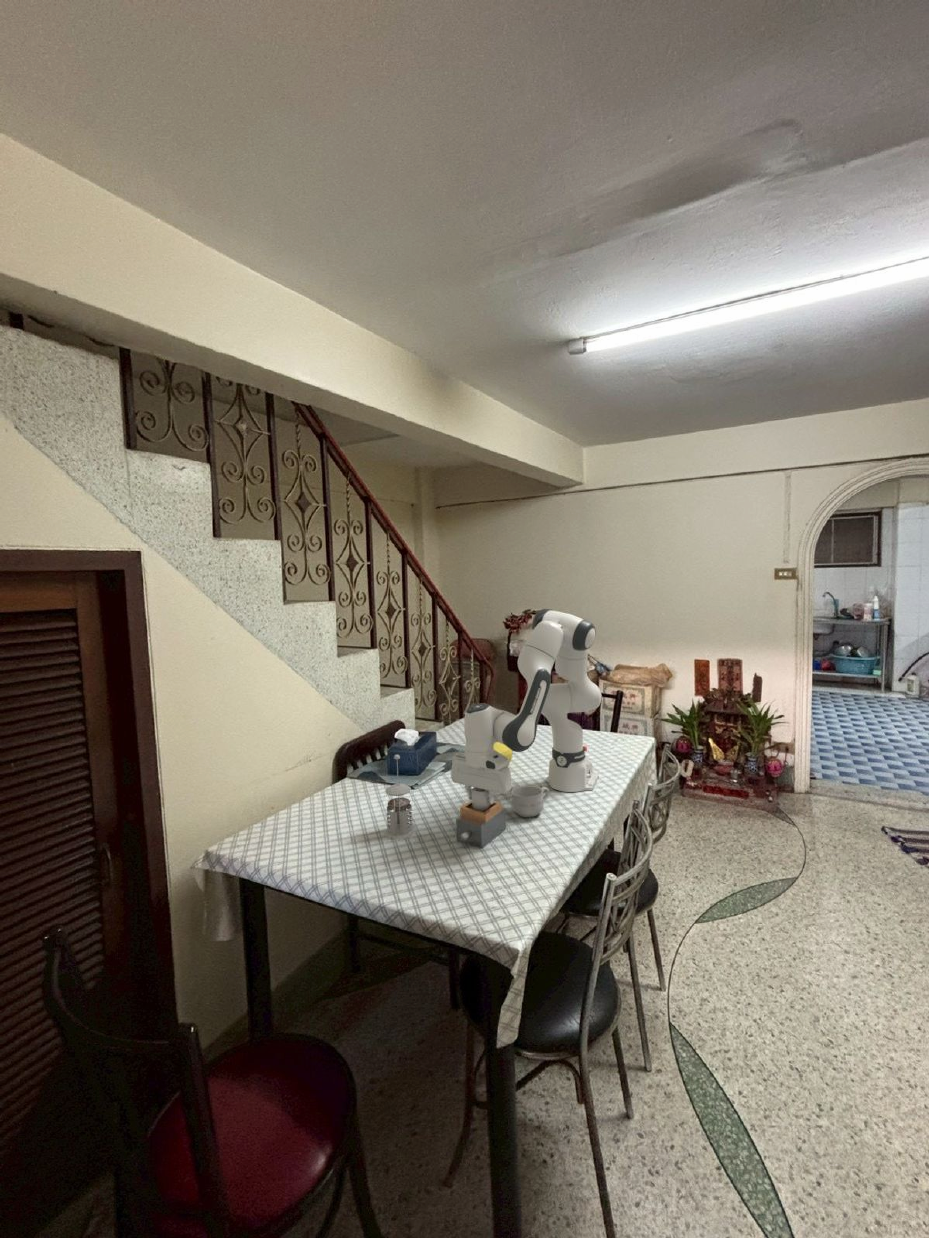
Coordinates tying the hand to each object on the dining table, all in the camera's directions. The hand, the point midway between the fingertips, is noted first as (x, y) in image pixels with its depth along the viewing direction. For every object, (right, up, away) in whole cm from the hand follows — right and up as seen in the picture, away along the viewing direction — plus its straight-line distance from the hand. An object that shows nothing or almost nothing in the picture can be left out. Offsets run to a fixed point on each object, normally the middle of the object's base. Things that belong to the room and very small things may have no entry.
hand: (481, 801), depth 166 cm
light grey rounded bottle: (0, -2, 0) cm, 2 cm away
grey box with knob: (-1, -11, 0) cm, 11 cm away
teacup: (+18, -9, +16) cm, 25 cm away
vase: (+6, -7, +56) cm, 57 cm away
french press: (-26, -12, +4) cm, 28 cm away
